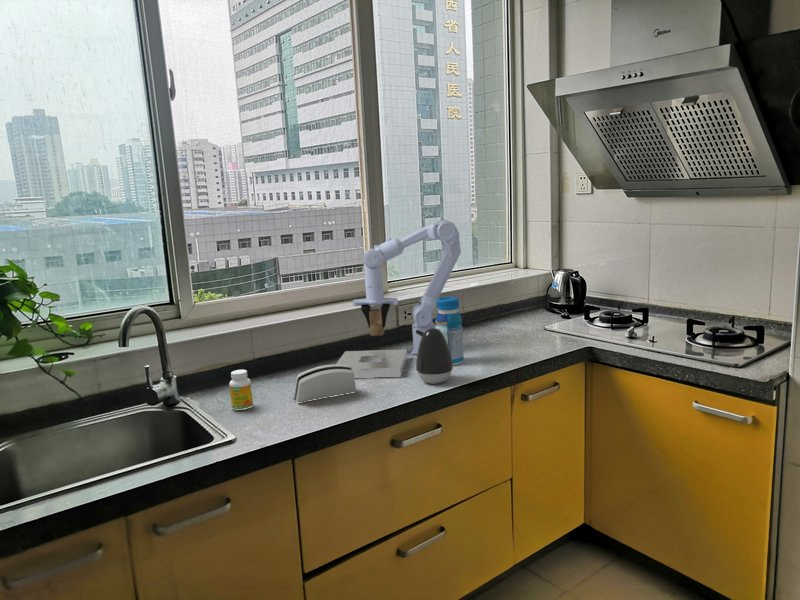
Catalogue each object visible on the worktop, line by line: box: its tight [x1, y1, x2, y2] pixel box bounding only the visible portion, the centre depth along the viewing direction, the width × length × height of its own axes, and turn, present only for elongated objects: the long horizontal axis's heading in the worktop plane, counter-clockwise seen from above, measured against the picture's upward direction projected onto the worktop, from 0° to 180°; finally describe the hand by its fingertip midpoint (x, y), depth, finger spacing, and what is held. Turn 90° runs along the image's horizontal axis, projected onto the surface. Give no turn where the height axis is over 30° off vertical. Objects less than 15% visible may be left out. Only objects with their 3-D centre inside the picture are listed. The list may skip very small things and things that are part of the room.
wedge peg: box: [369, 308, 385, 337], centre depth 197 cm, size 4×4×8 cm
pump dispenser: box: [415, 328, 454, 384], centre depth 166 cm, size 10×10×15 cm
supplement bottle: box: [229, 369, 254, 409], centre depth 155 cm, size 5×5×10 cm
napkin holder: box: [292, 363, 357, 403], centre depth 159 cm, size 17×5×10 cm, turn 114°
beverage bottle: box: [434, 296, 465, 366], centre depth 183 cm, size 8×8×20 cm
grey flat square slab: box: [335, 349, 408, 379], centre depth 183 cm, size 20×20×3 cm
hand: (377, 326), depth 198 cm, fingers closed on wedge peg, 4 cm apart
